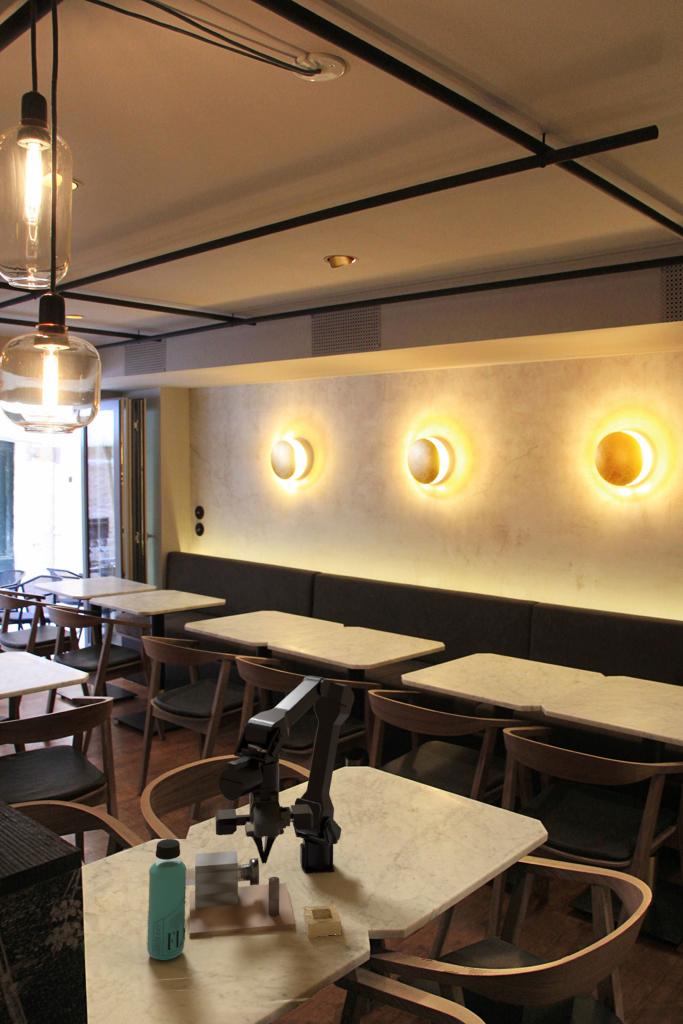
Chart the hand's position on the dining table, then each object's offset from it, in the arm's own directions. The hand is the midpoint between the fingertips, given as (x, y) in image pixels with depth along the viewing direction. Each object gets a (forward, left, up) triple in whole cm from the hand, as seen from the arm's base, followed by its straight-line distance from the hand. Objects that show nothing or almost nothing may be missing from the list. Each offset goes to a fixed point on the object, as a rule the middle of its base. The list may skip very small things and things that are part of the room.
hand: (263, 862), depth 155 cm
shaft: (+8, 0, -4) cm, 9 cm away
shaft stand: (+5, +3, -8) cm, 10 cm away
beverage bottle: (+18, +16, -8) cm, 25 cm away
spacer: (-10, +11, -8) cm, 17 cm away
